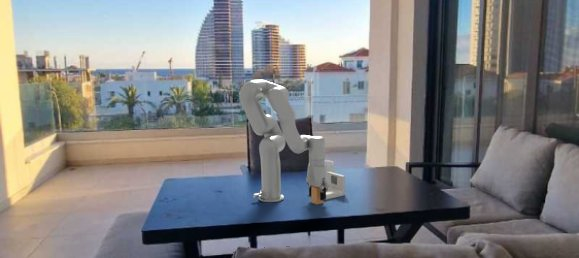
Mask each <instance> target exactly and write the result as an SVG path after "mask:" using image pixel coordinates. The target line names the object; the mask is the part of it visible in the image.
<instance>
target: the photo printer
mask: <svg viewBox="0 0 579 258" xmlns="http://www.w3.org/2000/svg"><path fill="white" fill-rule="evenodd" d="M325 167H326V175H327V172H329V171H330V172H333V173H335V162H334V161H333V160H328V159H325Z"/></svg>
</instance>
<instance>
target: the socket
mask: <svg viewBox="0 0 579 258" xmlns="http://www.w3.org/2000/svg"><path fill="white" fill-rule="evenodd" d="M327 182H328V184H329V185H330V186H329V188H328V190H327V192H326V200H331V199H334V198H340V197H343V196H345V195H346V176H345V175H344V174H340V173H336V172H334V173H333V172H330V171H329V172H327ZM326 200H325V201H326Z"/></svg>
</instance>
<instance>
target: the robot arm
mask: <svg viewBox="0 0 579 258" xmlns="http://www.w3.org/2000/svg"><path fill="white" fill-rule="evenodd" d="M238 95H239V97H238V98H239V101H240V105H241V106H242V109H243V110H244V113H245V114H246V118H247V119H248V122H249V124H250V126H251V128H252V131H253V132H254V133H255V134H256V135H257V136H264V138H262V139H261V141H260V143H259V144H258V149H259V156H260V169H261V170H260V171H261V172H260V173H261V189H260V190H259V192H258V193H253V194H252V196H253V199H256V198H258V200H259V201H261V202H263V203H278V202H281V201H283V200H284V199H285V196H284V194H282V185H281V184H282V183H281V180H282V179H281V178H282V177H281V159H280V158H281V157H280V152H282V151H283V150H284V148H285V146H286V144H287V146H288V147H289V150H291V151H292V152H293V153H295V154H301V153H303V152H304V151H305V152H306V151H308V165H307V172H306V173H307V175H306V178H305V181H306V184H307V188H308V196H309V197H311V187H312V186H315V187H319V188H320V190H321V192H320V200H321V201H322V200H323V201H326V192H327V190H328V188H329V186H330V185H329V184H328V182H327V175H326V167H325V160H326V140H325V138H324V136H321V135H315V136H314V135H313V136H312V135H306V134H301V135H300V133H299V130H298V129H297V126H296V125H297V124H296V112H295V110H294V108H293V106H292V105H291V103H290V101H289V98H290V92H289V91H288V89H287V88H286V87H285V86H282V85H279V84H276V83H273V82H272V81H271V82H270V81H268V80H265V79H251V80H248V81H246V82H245V83H244V84H243V85H242V86H241V88H240V91H239V94H238ZM259 97H262V98H265V99H267V101H268V103H269V104H270V106H271V108H272V110H273V112H274V114H275V116H276V117H277V119H278V121H279V123H278V121H277V120H276V118H275V117H274V116H272V115H271V114H269V113H268V114H266V113H265V111H264V109H263V106H262V104H261V103H260V102H259V101H258V98H259ZM279 124H280V125H279ZM322 187H323V189H322Z"/></svg>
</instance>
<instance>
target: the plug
mask: <svg viewBox="0 0 579 258" xmlns="http://www.w3.org/2000/svg"><path fill="white" fill-rule="evenodd" d="M322 189H323V187H322ZM320 192H321V190H320V188H319V187H315V186H312V187H311V196H310V197H311V204H314V205H321V204H324V200H322V201H321V200H320Z"/></svg>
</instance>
